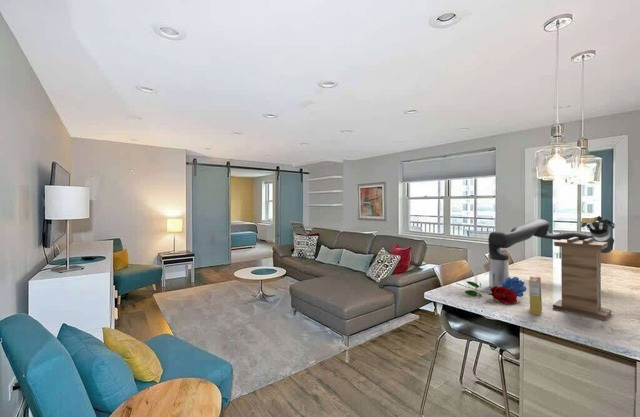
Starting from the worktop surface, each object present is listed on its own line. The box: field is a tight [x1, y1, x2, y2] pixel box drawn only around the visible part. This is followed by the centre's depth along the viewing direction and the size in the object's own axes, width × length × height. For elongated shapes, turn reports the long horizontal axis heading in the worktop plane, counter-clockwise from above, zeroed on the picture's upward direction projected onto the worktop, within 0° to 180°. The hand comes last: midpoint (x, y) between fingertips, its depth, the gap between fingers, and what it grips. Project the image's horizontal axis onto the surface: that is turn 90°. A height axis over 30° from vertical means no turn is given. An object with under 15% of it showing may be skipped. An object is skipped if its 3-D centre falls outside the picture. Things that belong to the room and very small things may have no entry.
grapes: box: [501, 276, 527, 298], centre depth 150 cm, size 12×7×12 cm, turn 38°
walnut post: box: [552, 237, 612, 321], centre depth 131 cm, size 14×18×34 cm
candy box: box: [528, 276, 543, 316], centre depth 132 cm, size 9×4×15 cm, turn 140°
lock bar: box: [581, 215, 599, 224], centre depth 145 cm, size 24×3×2 cm, turn 128°
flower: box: [455, 280, 518, 305], centre depth 152 cm, size 9×9×30 cm
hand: (594, 217), depth 149 cm, fingers closed on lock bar, 3 cm apart
